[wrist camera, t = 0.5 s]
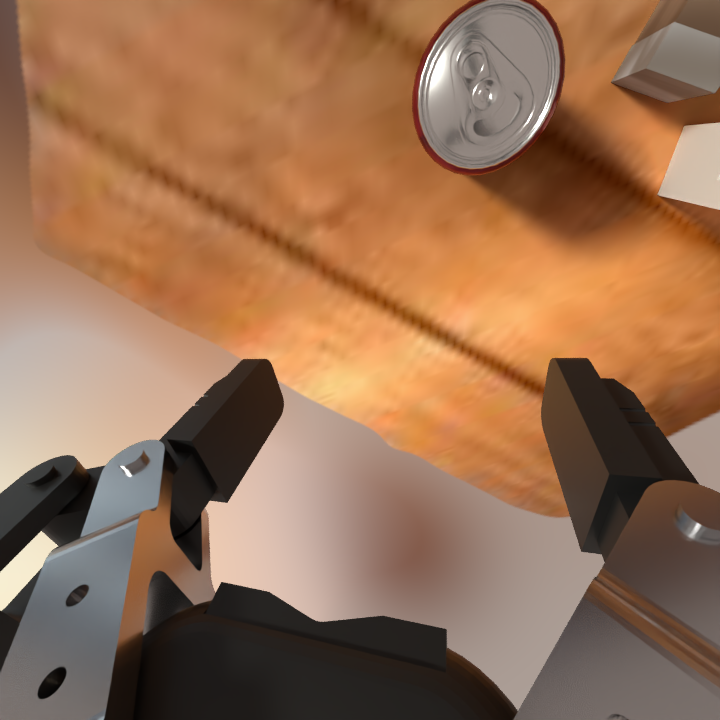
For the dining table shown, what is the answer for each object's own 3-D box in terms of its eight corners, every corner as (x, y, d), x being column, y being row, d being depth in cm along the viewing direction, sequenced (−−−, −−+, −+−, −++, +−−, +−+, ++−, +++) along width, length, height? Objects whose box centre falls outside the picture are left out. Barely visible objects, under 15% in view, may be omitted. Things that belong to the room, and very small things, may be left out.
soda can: (535, 131, 26) (587, 121, 16) (447, 183, 29) (444, 202, 19) (504, 23, 23) (542, -67, 13) (410, 94, 26) (385, 63, 17)
